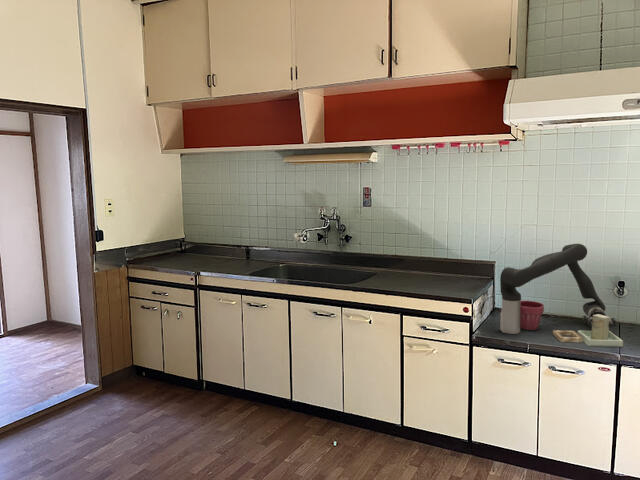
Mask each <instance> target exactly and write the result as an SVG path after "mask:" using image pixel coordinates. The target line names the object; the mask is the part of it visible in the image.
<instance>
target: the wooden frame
mask: <svg viewBox="0 0 640 480" xmlns="http://www.w3.org/2000/svg"><path fill="white" fill-rule="evenodd" d="M552 335H553V336H554V337H555V338H556V339H557V340H558V342H560V343H583V341H582V339H583V338H581V337H580V336H579V335H578V332H576V331H575V330H558V329H557V330H555V329H553V330H552Z"/></svg>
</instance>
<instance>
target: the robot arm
mask: <svg viewBox="0 0 640 480" xmlns="http://www.w3.org/2000/svg"><path fill="white" fill-rule="evenodd" d="M587 254H588V248H587V247H586V246H585V245H584V244H582V243H571V244H567V245H564V246H563V247H562V249H561V251H557V252H556V251H555V252H552V253H547V254H544V255H542V256H540V257H537V258H536V259H534V260H533V261H532V263H531V264H530V265H529V266H527V267H524V268H521V269H520V268H519V269H518V268H514V267H505V268H503V269H502V271H501V273H500V279H499V280H500V281H499V282H500V283H499V284H500V286H499V287H500V295H501V311H500V317H499V318H500V319H499V321H500V324H499V326H500V327H499V330H500V331H501V333H502V334H503V333H504V334H510V335H516V334H517V335H518V334H520V333H521V328H520V317H521V301H522V295H521V294H522V293H520V292H519V291H518V290H517V288H521V287H523V286H524V285H526V284H528V283H529V282H531V281H533V280H535V279H538V278H540V277H543V276H544V275H548V274H551V273H553V272H554V271H556V270H559V269H561V268H563V267H565V266H567V267H568V269H569V271H570V272H571V274H572V276H573V278H574V279H575V282H576V283H577V286H578V289H579V292H580V294H581V298H583V299H585V300H586V299H593V300H592V301H589V302H585V303H584V304H583V305H582V310H583V313H584V315H583V317H582V324H587V326H589V327H592V321H593V315H596V314H600V315H604V316H607V315H606V313H605V311H606V305H605V303H604V302H603V301H602V299H601V298H600V296H599V295H598V294H597V291H596V289H595V286H594V283H593V281H592V279H591V278H590V277H589V276H588V275H587V273H586V272H585V271H584V270H583V269H582V268H581V265H580V264H579V262H580V261H583V260H584V259H585V258H586V257H587ZM614 327H617V320H616V318H614V317H611V318H610V321H609V329H612V328H614Z"/></svg>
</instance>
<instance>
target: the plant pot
mask: <svg viewBox="0 0 640 480" xmlns="http://www.w3.org/2000/svg"><path fill="white" fill-rule="evenodd" d="M544 311H545V305H544V304H543V303H541V302H539V301H532V300H521V317H520V329H523V330H528V331H533V330H537V329H538V327H539V325H540V321H541V317H542V314H543V313H544Z"/></svg>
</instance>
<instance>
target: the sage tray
mask: <svg viewBox="0 0 640 480" xmlns="http://www.w3.org/2000/svg"><path fill="white" fill-rule="evenodd" d="M591 333H592V330H577V334H578V335H579V336H580V337H581V338H583V339H582V343H585V345H586V346H587V347H596V348H597V347H599V348H600V347H601V348H602V347H603V348H606V347H607V348H609V347H610V348H623V347H624V340H622V339H621V338H620V337H618V336H617V335H615V334H614V333H613V332H612V331H610V330H609V333H608V340H593V339H591Z"/></svg>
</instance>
